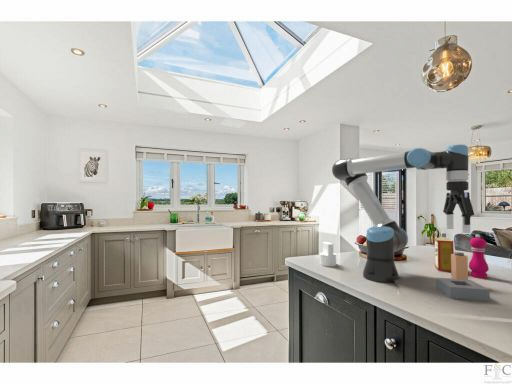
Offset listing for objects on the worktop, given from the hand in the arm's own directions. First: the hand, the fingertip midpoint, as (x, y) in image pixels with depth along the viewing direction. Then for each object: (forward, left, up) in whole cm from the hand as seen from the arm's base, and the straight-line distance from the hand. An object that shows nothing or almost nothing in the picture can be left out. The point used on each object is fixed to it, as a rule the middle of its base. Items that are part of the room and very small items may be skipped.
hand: (457, 231), depth 113 cm
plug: (0, 0, -23) cm, 23 cm away
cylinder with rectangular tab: (-53, +26, -23) cm, 63 cm away
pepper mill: (+16, +18, -23) cm, 34 cm away
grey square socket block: (-6, -14, -23) cm, 28 cm away
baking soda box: (+6, +29, -23) cm, 38 cm away
